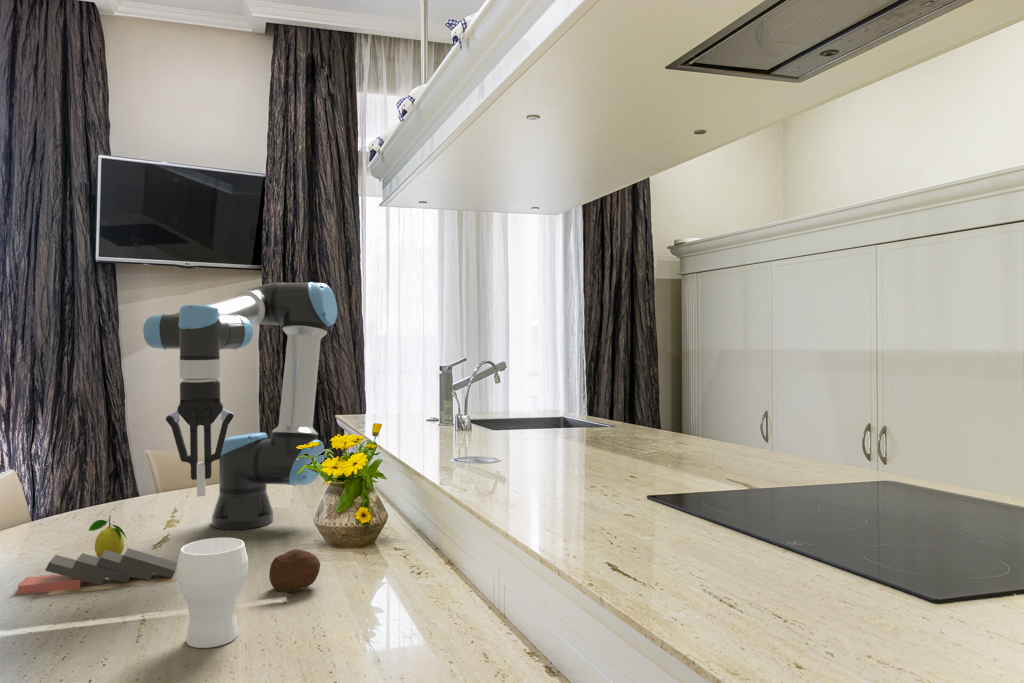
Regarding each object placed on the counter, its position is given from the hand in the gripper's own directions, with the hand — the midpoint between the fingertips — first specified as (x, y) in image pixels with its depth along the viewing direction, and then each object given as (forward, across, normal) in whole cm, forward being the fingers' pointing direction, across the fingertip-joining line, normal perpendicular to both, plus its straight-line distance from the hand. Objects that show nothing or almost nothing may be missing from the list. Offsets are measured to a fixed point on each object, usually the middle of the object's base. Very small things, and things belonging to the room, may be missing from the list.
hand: (201, 494), depth 143 cm
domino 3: (+15, +13, +1) cm, 20 cm away
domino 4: (+15, +9, +1) cm, 17 cm away
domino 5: (+15, +5, +1) cm, 16 cm away
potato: (+17, -18, +16) cm, 29 cm away
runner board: (+16, +13, +1) cm, 21 cm away
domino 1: (+15, +21, +1) cm, 26 cm away
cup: (+16, -4, +34) cm, 38 cm away
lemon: (+17, +20, -15) cm, 30 cm away
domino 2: (+15, +17, +1) cm, 23 cm away
